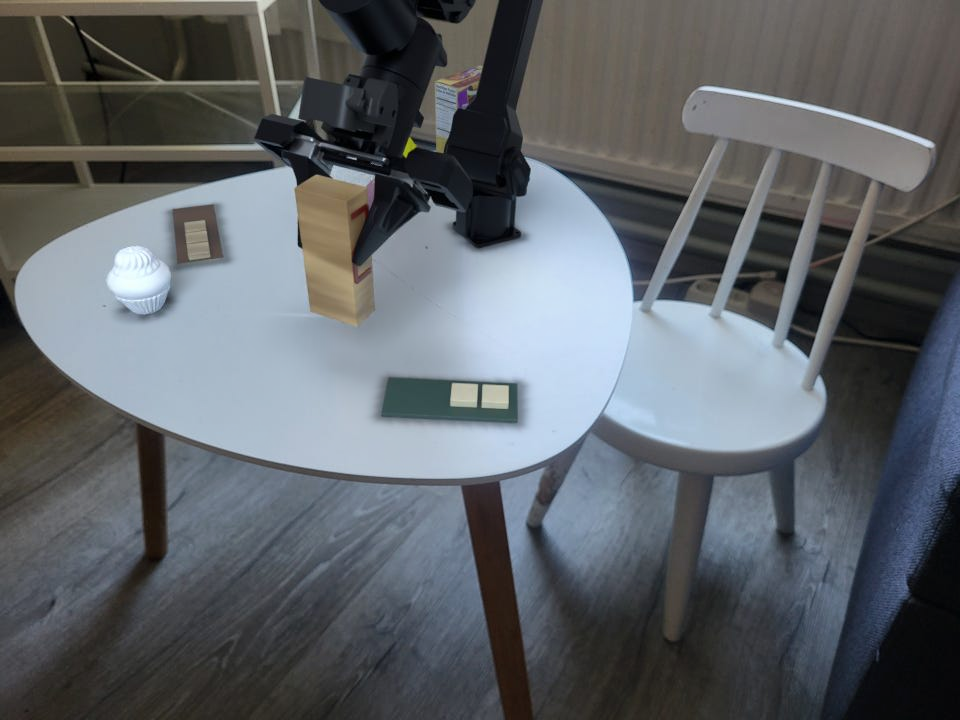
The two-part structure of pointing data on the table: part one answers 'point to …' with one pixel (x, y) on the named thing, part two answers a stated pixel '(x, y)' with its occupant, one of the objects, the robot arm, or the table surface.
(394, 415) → the dark green board
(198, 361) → the table surface
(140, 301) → the muffin
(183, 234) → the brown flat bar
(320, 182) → the wooden block
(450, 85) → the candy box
